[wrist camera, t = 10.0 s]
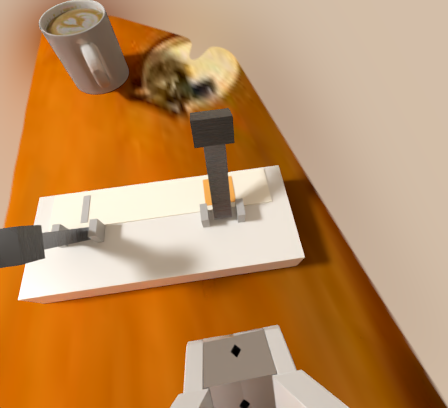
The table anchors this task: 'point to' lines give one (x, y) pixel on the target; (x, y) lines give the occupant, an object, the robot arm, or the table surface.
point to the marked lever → (215, 154)
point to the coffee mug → (85, 45)
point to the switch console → (162, 236)
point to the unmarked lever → (34, 243)
